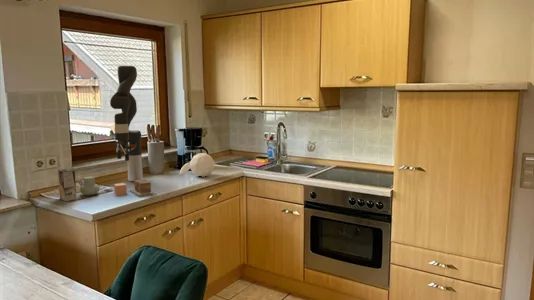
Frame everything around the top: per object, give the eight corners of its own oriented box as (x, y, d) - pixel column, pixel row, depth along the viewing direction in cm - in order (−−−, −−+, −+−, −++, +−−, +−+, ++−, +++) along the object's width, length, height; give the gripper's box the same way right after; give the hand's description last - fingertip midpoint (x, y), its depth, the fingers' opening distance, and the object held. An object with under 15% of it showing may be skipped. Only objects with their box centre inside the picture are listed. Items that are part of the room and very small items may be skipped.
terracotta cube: (114, 193, 236) (114, 184, 235) (124, 191, 239) (123, 182, 238) (117, 195, 231) (116, 185, 230) (126, 193, 234) (126, 184, 234)
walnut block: (134, 190, 239) (134, 180, 238) (144, 188, 242) (144, 179, 241) (140, 193, 231) (140, 183, 230) (151, 192, 234) (150, 182, 233)
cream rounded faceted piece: (210, 149, 273) (192, 145, 295) (186, 171, 264) (169, 165, 286) (223, 167, 280) (204, 161, 303) (200, 189, 271) (182, 182, 294)
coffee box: (77, 199, 223) (75, 170, 220) (65, 201, 218) (62, 172, 216) (71, 196, 229) (69, 168, 227) (59, 198, 225) (57, 169, 222)
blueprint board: (129, 191, 240) (129, 189, 240) (146, 188, 246) (146, 187, 246) (138, 197, 227) (138, 195, 227) (156, 194, 232) (156, 193, 232)
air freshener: (101, 194, 232) (100, 177, 230) (86, 197, 226) (85, 180, 225) (93, 191, 240) (92, 174, 238) (79, 193, 234) (78, 177, 232)
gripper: (134, 132, 228) (135, 160, 231) (121, 130, 237) (122, 157, 240) (122, 133, 222) (123, 162, 225) (109, 131, 232) (110, 159, 234)
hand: (123, 159), depth 232 cm, fingers open, 8 cm apart
